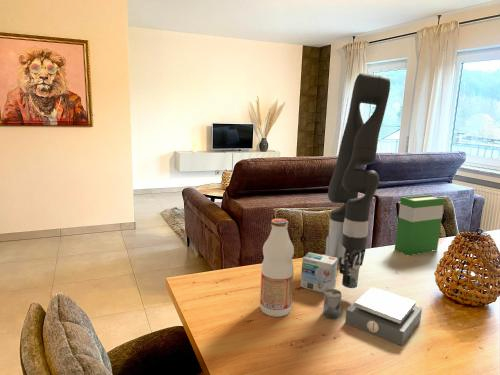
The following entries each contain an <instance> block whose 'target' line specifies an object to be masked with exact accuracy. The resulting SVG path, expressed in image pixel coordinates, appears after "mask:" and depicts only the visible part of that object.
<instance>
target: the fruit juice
mask: <svg viewBox="0 0 500 375" xmlns="http://www.w3.org/2000/svg"><path fill="white" fill-rule="evenodd" d="M270 224H271V225H270V226H271V230H270V232H269V236H268V237H267V239H266V241H265V242H264V243H263V247H262V254H263V260H262V264H261V276H260V296H259V297H260V300H259V307H260V311H261V312H262V313H263V314H265V315H267V316H270V317H275V318H276V317H277V318H280V317H285V316H287V315H288V314H290V312H291V310H292V301H293V298H292V297H293V296H292V295H293V285H294V284H293V283H294V282H293V281H294V262H293V258H294V255H295V254H294V253H295V248H294V244H293V243H292V241H291V239H290V235H289V231H288V227H289V221H288V219H285V218H273V219H272V220H271V222H270Z"/></svg>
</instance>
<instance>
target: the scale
mask: <svg viewBox="0 0 500 375" xmlns="http://www.w3.org/2000/svg"><path fill="white" fill-rule="evenodd" d="M422 312H423V308H422V307H419V306H416V305H415V307H414V308H413V309H412V310H411V311H410V313H409V314H408V315H407V316H406V317H405V319H404V320H403V321H402V322H401V324H400V323H397V322H394V321H392V320H389V319H386V318H384V317H381V316H378V315H376V314H373V313H370V312H368V311H365V310H363V309H360V308H357V307H355V306H354V303H352V304H351V305H350V306H348V308H346V311H345V320H344V321H345V322H344V323H346V324H349V325H351V326H354V327H355V328H358V329H360V330H363V331H365V332H367V333H370V334H373V335H375V336H377V337H379V338H382V339H385V340H387V341H389V342H392V343H394V344H397V345H399V346H403V345H404V343H405V342H406V341H407V340H408V339H409V337H410V336H411V335H412V333H413V332H414V330H415V329H416V327H417V326H418V325H419V323H420V322H421V319H422Z"/></svg>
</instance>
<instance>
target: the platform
mask: <svg viewBox="0 0 500 375" xmlns="http://www.w3.org/2000/svg"><path fill="white" fill-rule="evenodd" d="M353 304H354V306H355V307H357V308H360V309H363V310H365V311H368V312H370V313H373V314H376V315H378V316H381V317H384V318H386V319H389V320H392V321H394V322H397V323H400V324H401V322H402V321H403V320H404V319H405V317H406V316H407V315H408V314H409V313H410V311H411V310H412V309H413V308H414V307H415V306H416V305H417V301H416V300H412V299H410V298H407V297H403V296H400V295H398V294H395V293H391V292H389V291H386V290H382V289H380V288H376V287H373V286H372V287H371V288H369V289H368V290H367V291H366V292H365V293H363V294H362V295H361V296H360V297H359V298H358V299H357V300H355V301H354V303H353Z"/></svg>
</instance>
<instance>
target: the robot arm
mask: <svg viewBox="0 0 500 375" xmlns="http://www.w3.org/2000/svg"><path fill="white" fill-rule="evenodd" d="M390 90H391V79H390V78H389V77H388V76H384V75H377V74H373V73H372V74H371V73H359V74H358V75H357V76H356V78H355V81H354V83H353V89H352V93H351V98H350V99H351V100H350V105H349V110H348V115H347V119H346V123H345V126H344V130H343V133H342V137H341V142H340V145H339V150H338V154H337V159H336V163H335V166H334V169H333V173H332V175H331V178H330V180H329V181H330V182H329V185H328V189H327V196H328V200H329V202H331V203H335V204H343V205H342V206H340V207H338V208H335V209H333V210H332V211H331V212H330V218H329V229H328V235H327V236H326V241H325V253H324V255H325V256H330V257H335V258H338V261H337V265H339V274H340V275H342V278H343V282H342V281H341V284H342V283H343V285H346V286H349V285H350V278H351V271H352V269H353V268H354V266H355V263H357V264H359V269H360V268H361V266H363V262H364V259H365V253H366V249H367V242H368V234H369V219H370V210H371V209H370V208H371V204H372V201H373V198H374V196H375V193H376V191H377V189H378V186H379V184H380V176H379V174H378V172H377V171H376V170H373V169H364V168H362V169H361V168H360V167H362V166H367V165H371V164H373V163H375V161H376V157H377V151H378V142H379V136H380V133H381V128H382V124H383V120H384V117H385V112H386V109H387V104H388V101H389V96H390ZM361 104H367V105H375V108H374V111H373V113H372V114H371V115H370V117H369V118H368V119H367V120H366V121H365V122H364V120H363V117H362V113H361V109H360V108H361V107H360V106H361ZM359 193H362V194H364V195H363V196H361V197H358V196H359ZM348 263H349V264H352V265H348ZM348 268H349V270H348ZM343 285H342V286H343Z"/></svg>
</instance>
